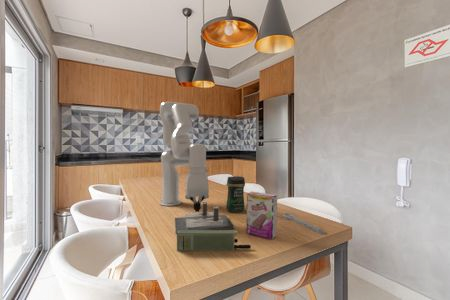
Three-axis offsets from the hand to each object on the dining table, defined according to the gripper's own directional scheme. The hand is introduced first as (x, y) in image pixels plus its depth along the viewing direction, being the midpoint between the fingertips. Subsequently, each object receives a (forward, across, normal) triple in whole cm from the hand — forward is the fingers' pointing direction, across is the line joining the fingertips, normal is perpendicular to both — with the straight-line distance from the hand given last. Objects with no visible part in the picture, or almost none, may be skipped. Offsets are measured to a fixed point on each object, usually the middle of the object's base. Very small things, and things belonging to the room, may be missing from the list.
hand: (197, 211), depth 102 cm
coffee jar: (+5, -22, -14) cm, 27 cm away
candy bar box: (+5, -23, +19) cm, 31 cm away
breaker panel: (+5, -2, +4) cm, 7 cm away
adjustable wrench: (+6, -46, +11) cm, 47 cm away
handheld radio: (+6, -3, +27) cm, 28 cm away
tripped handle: (+2, -3, 0) cm, 4 cm away
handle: (+2, -7, +8) cm, 11 cm away
